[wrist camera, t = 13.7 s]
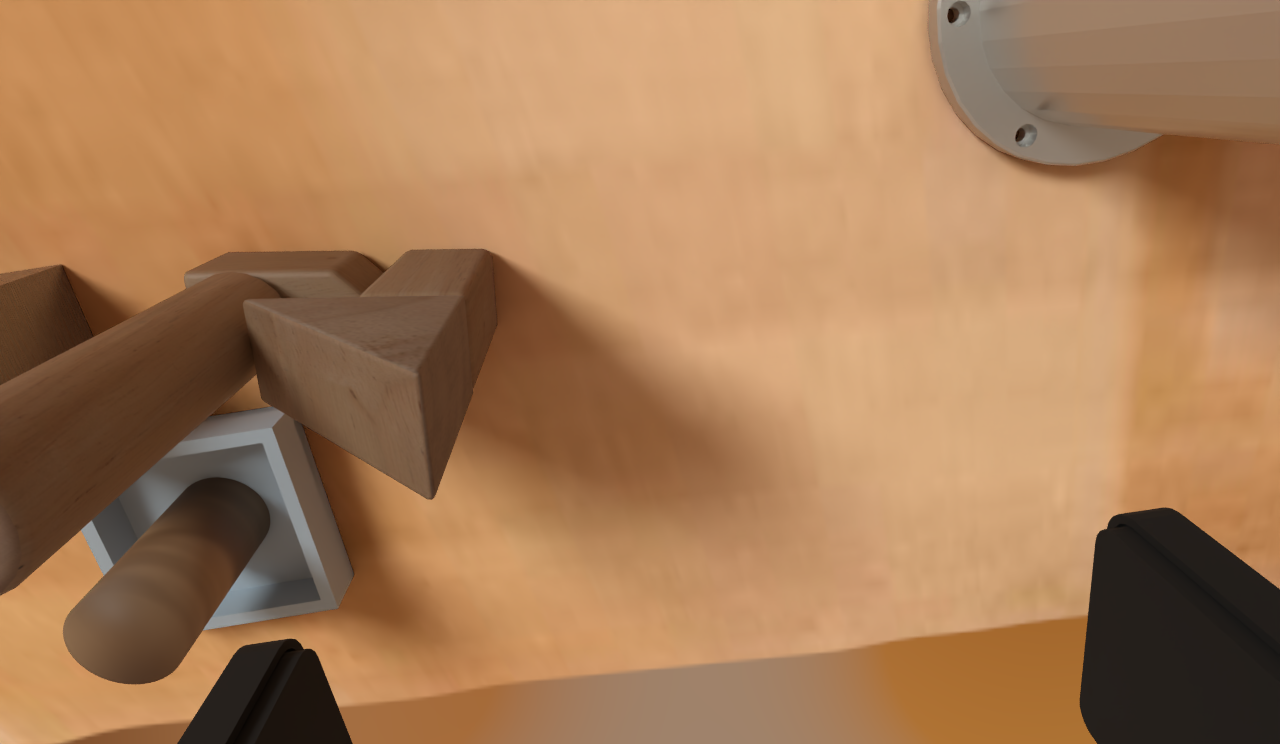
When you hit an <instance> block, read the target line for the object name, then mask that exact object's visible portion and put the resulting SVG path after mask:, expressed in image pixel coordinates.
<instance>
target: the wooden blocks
mask: <svg viewBox="0 0 1280 744" xmlns="http://www.w3.org/2000/svg"><path fill="white" fill-rule="evenodd" d="M184 282H185V286H186V289H185V290H183V291H181V292H179V293H178V294H176V295H174V296H172V297H170V298H168V299H166V300H164V301H162V302H160V303H158V304H156V305H154V306H152V307H151V308H149V309H147V310H145V311H143V312H141V313H139V314H137V315H135V316H133V317H131V318H129V319H127V320H125V321H124V322H122V323H120V324H118V325H116V326H114V327H112V328H110V329H108V330H106V331H104V332H102V333H100V334H98V335H96V336H95V337H93V338H91V339H89V340H87V341H85V342H83V343H81V344H79V345H77V346H75V347H73V348H71V349H69V350H68V351H66V352H64V353H62V354H60V355H58V356H56V357H54V358H52V359H50V360H48V361H46V362H44V363H42V364H41V365H39V366H37V367H35V368H33V369H31V370H29V371H27V372H25V373H23V374H21V375H19V376H17V377H15V378H14V379H12V380H10V381H8V382H6V383H4V384H2V385H0V595H2V594H4V593H6V592H8V591H10V590H12V589H14V588H16V587H17V586H18V585H19V584H20V583H21V582H23V581H24V580H25V579H26V578H27V577H28V576H29V575H31V574H32V573H33V572H34V571H35V570H36V569H37V568H38V567H40V566H41V565H42V564H43V563H44V562H45V561H46V560H47V559H49V558H50V557H51V556H52V555H53V554H54V553H55V552H56V551H58V550H59V549H60V548H61V547H62V546H63V545H64V544H66V543H67V542H68V541H69V540H70V539H71V538H72V537H73V536H75V535H76V534H77V533H78V532H79V531H80V530H81V529H82V528H84V527H85V526H86V525H87V524H88V523H89V522H90V521H91V520H93V519H94V518H95V517H96V516H97V515H98V514H99V513H101V512H102V511H103V510H104V509H105V508H106V507H107V506H108V505H110V504H111V503H112V502H113V501H114V500H115V499H116V498H117V497H119V496H120V495H121V494H122V493H123V492H124V491H125V490H126V489H128V488H129V487H130V486H131V485H132V484H133V483H134V482H136V481H137V480H138V479H139V478H140V477H141V476H142V475H143V474H145V473H146V472H147V471H148V470H149V469H150V468H151V467H152V466H154V465H155V464H156V463H157V462H158V461H159V460H160V459H161V458H163V457H164V456H165V455H166V454H167V453H168V452H169V451H171V450H172V449H173V448H174V447H175V446H176V445H177V444H178V443H180V442H181V441H182V440H183V439H184V438H185V437H186V436H187V435H189V434H190V433H191V432H192V431H193V430H194V429H195V428H197V427H198V426H199V425H200V424H201V423H202V422H203V421H204V420H206V419H207V418H208V417H209V416H210V415H211V414H212V413H213V412H215V411H216V410H217V409H218V408H219V407H220V406H221V405H222V404H224V403H225V402H226V401H227V400H228V399H229V398H230V397H232V396H233V395H234V394H235V393H236V392H237V391H238V390H239V389H241V388H242V387H243V386H244V385H245V384H246V383H247V382H248V381H250V380H251V379H252V378H253V377H254V376H255V375H256V374H257V379H258V384H259V388H260V393H261V398H262V400H263V401H264V402H266V403H268V404H269V405H271V406H273V407H274V408H276V409H278V410H279V411H281V412H283V413H284V414H286V415H288V416H289V417H291V418H293V419H294V420H296V421H298V422H299V423H301V424H303V425H304V426H306V427H308V428H309V429H311V430H313V431H314V432H316V433H318V434H319V435H321V436H323V437H324V438H326V439H328V440H329V441H331V442H333V443H334V444H336V445H338V446H339V447H341V448H343V449H344V450H346V451H348V452H349V453H351V454H353V455H354V456H356V457H358V458H359V459H361V460H363V461H364V462H366V463H368V464H369V465H371V466H373V467H374V468H376V469H378V470H379V471H381V472H383V473H385V474H386V475H388V476H390V477H391V478H393V479H395V480H396V481H398V482H400V483H401V484H403V485H405V486H406V487H408V488H410V489H411V490H413V491H415V492H416V493H418V494H420V495H421V496H423V497H425V498H426V499H431V500H432V499H433V498H434V497H435V495H436V492H437V490H438V487H439V484H440V481H441V479H442V476H443V473H444V471H445V468H446V465H447V462H448V460H449V457H450V454H451V451H452V449H453V446H454V443H455V441H456V438H457V435H458V432H459V430H460V427H461V424H462V422H463V419H464V416H465V413H466V411H467V408H468V405H469V402H470V400H471V397H472V394H473V388H474V385H475V383H476V380H477V377H478V375H479V372H480V369H481V367H482V364H483V361H484V359H485V356H486V353H487V350H488V348H489V345H490V342H491V340H492V337H493V334H494V332H495V329H496V326H497V314H496V300H495V286H494V273H493V259H492V256H491V254H490V252H489V251H487V250H484V249H443V250H410V251H408V252H406V253H405V254H403V255H402V256H401V257H400V258H399V259H398V260H397V261H396V262H395V263H394V264H393V265H392V266H391V267H390V268H389V269H388V270H387V271H385V272H384V273H383V272H382V271H381V270H380V269H378V268H377V267H376V266H375V265H374V264H372V263H371V262H370V261H369V260H368V259H367V258H365V257H364V256H363V255H362V254H360V253H358V252H355V251H299V252H228V253H226V254H223V255H221V256H219V257H217V258H215V259H213V260H211V261H209V262H207V263H204V264H202V265H200V266H198V267H196V268H194V269H192V270H190V271H188V272H186V273H185V276H184Z"/></svg>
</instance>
